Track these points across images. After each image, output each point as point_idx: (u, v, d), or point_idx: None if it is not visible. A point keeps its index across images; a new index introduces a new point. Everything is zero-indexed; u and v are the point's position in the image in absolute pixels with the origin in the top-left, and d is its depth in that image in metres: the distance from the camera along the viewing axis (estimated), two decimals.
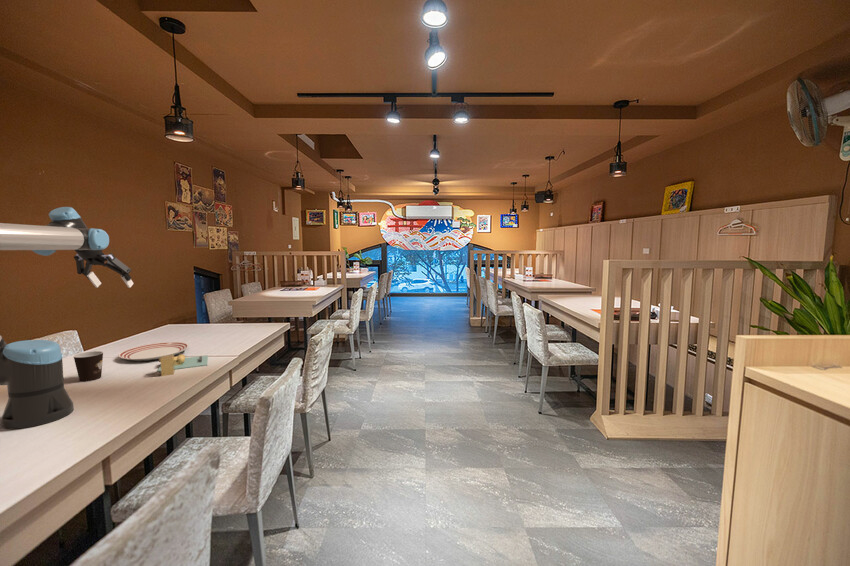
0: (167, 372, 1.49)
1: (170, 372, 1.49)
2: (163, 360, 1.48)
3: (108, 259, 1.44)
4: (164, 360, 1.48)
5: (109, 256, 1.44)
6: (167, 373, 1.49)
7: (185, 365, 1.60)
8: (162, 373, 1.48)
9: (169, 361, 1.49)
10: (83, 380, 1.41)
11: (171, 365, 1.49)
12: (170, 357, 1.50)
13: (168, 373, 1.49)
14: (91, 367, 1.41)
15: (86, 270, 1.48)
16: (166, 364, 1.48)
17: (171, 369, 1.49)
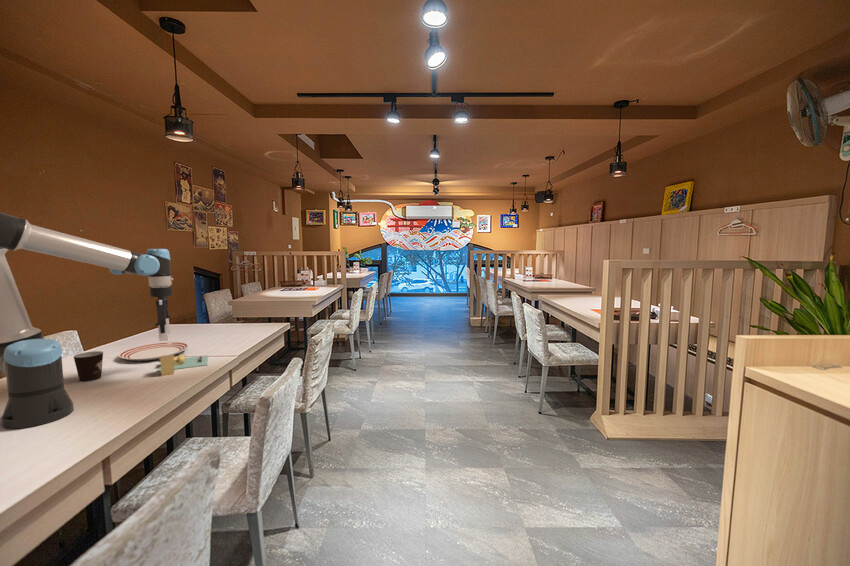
0: (167, 372, 1.49)
1: (170, 372, 1.49)
2: (163, 360, 1.48)
3: (157, 303, 1.43)
4: (164, 360, 1.48)
5: (159, 301, 1.43)
6: (167, 373, 1.49)
7: (185, 365, 1.60)
8: (162, 373, 1.48)
9: (169, 361, 1.49)
10: (83, 380, 1.41)
11: (171, 365, 1.49)
12: (170, 357, 1.50)
13: (168, 373, 1.49)
14: (91, 367, 1.41)
15: None
16: (166, 364, 1.48)
17: (171, 369, 1.49)
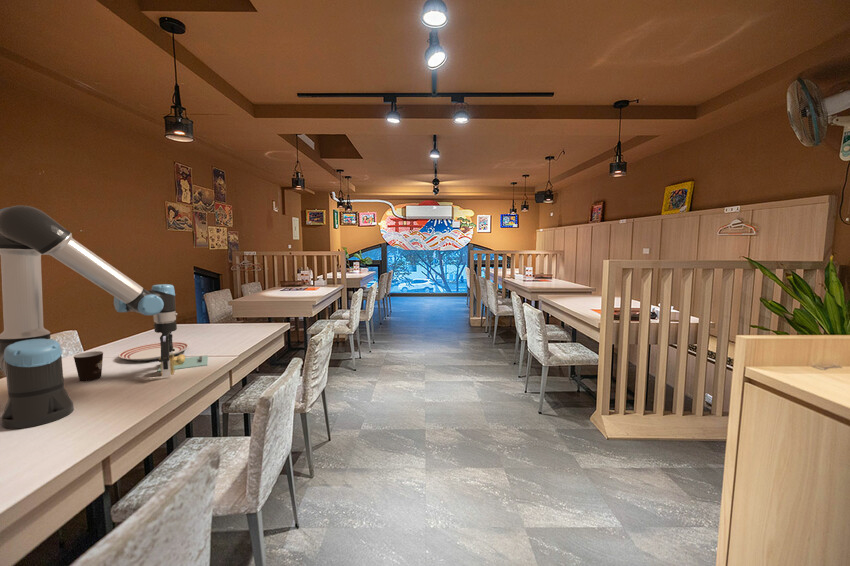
0: None
1: None
2: None
3: (160, 339, 1.44)
4: None
5: (162, 337, 1.44)
6: None
7: (185, 365, 1.60)
8: None
9: None
10: (83, 380, 1.41)
11: (171, 365, 1.49)
12: (170, 357, 1.50)
13: None
14: (91, 367, 1.41)
15: None
16: None
17: (171, 369, 1.49)
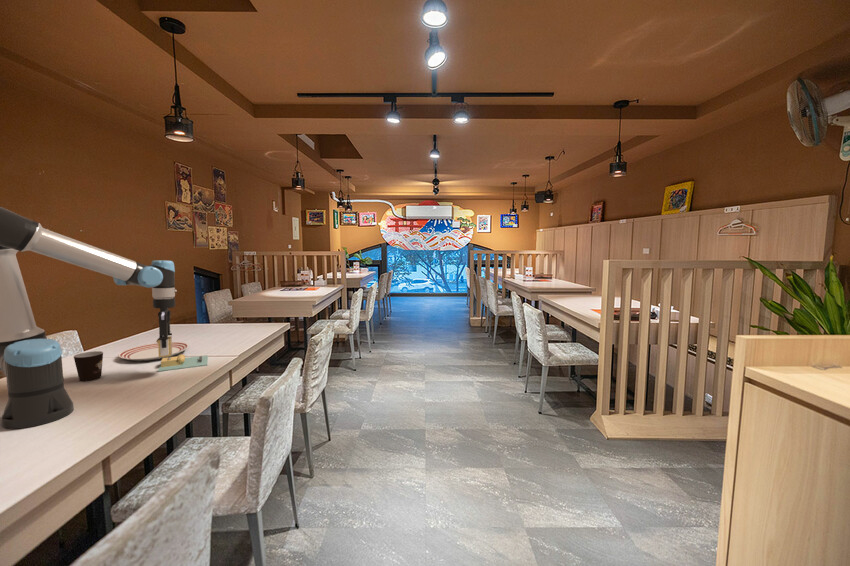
0: None
1: None
2: None
3: (159, 317, 1.43)
4: None
5: (161, 316, 1.43)
6: None
7: (185, 365, 1.60)
8: (159, 354, 1.47)
9: None
10: (83, 380, 1.41)
11: None
12: (168, 338, 1.49)
13: None
14: (91, 367, 1.41)
15: None
16: None
17: None
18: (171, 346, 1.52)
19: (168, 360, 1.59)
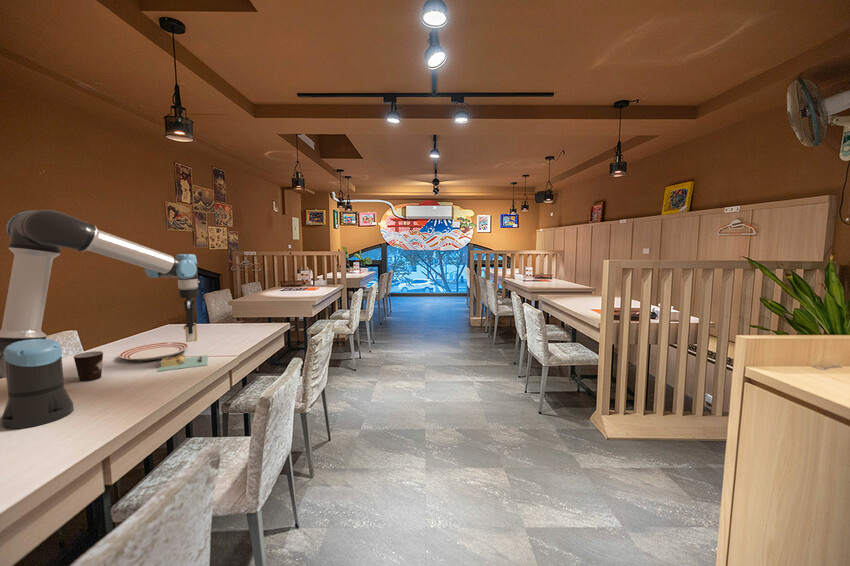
0: None
1: None
2: None
3: (185, 306, 1.58)
4: None
5: (187, 305, 1.57)
6: None
7: (185, 365, 1.60)
8: (186, 339, 1.61)
9: None
10: (83, 380, 1.41)
11: (194, 332, 1.63)
12: None
13: None
14: (91, 367, 1.41)
15: None
16: None
17: None
18: (196, 332, 1.67)
19: (168, 360, 1.59)
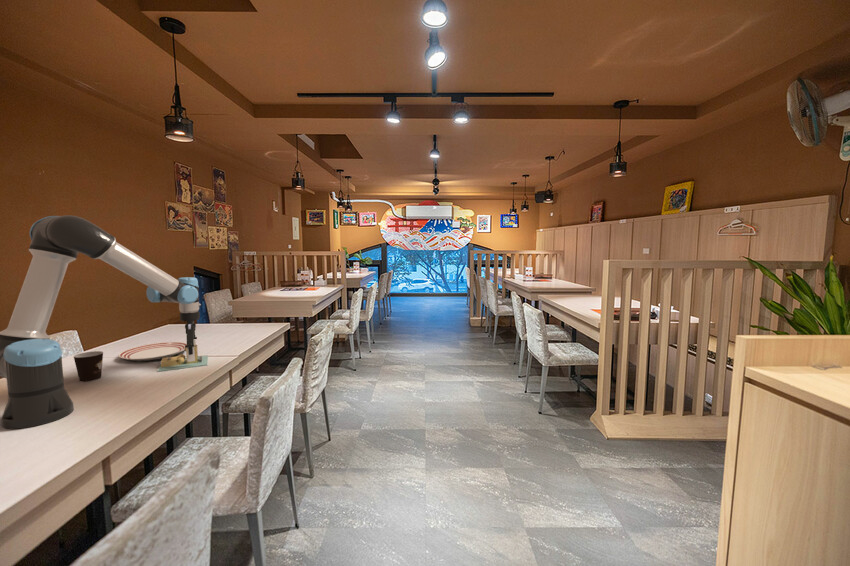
0: None
1: (195, 360, 1.64)
2: None
3: (186, 327, 1.58)
4: None
5: (188, 325, 1.58)
6: (192, 361, 1.63)
7: (185, 365, 1.60)
8: (187, 361, 1.62)
9: (194, 350, 1.63)
10: (83, 380, 1.41)
11: (195, 354, 1.64)
12: (194, 347, 1.64)
13: (193, 361, 1.63)
14: (91, 367, 1.41)
15: None
16: None
17: (195, 357, 1.64)
18: (197, 353, 1.67)
19: (168, 360, 1.59)
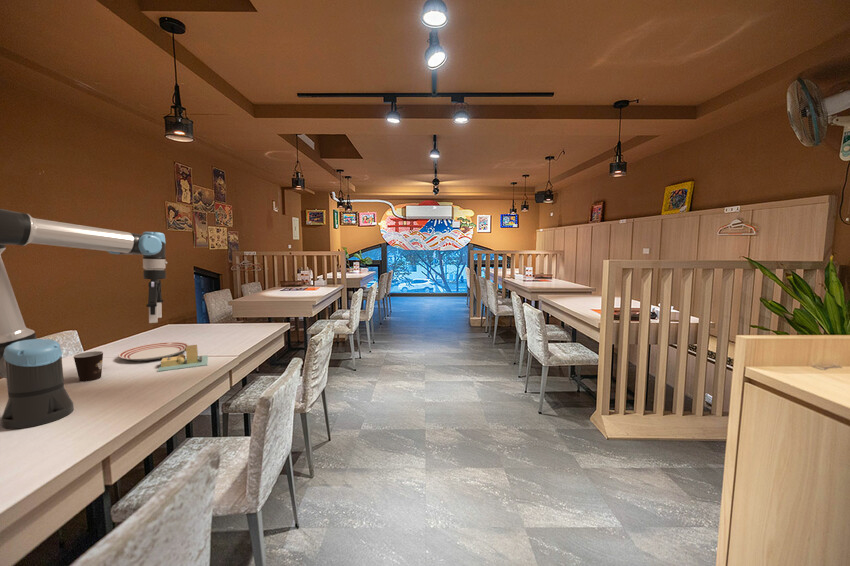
0: (191, 360, 1.63)
1: (195, 360, 1.64)
2: (188, 349, 1.62)
3: (149, 285, 1.45)
4: (189, 349, 1.62)
5: (151, 282, 1.45)
6: (192, 361, 1.63)
7: (185, 365, 1.60)
8: (187, 361, 1.62)
9: (194, 350, 1.63)
10: (83, 380, 1.41)
11: (195, 354, 1.64)
12: (194, 347, 1.64)
13: (193, 361, 1.63)
14: (91, 367, 1.41)
15: None
16: (191, 353, 1.63)
17: (195, 357, 1.64)
18: (197, 353, 1.67)
19: (168, 360, 1.59)
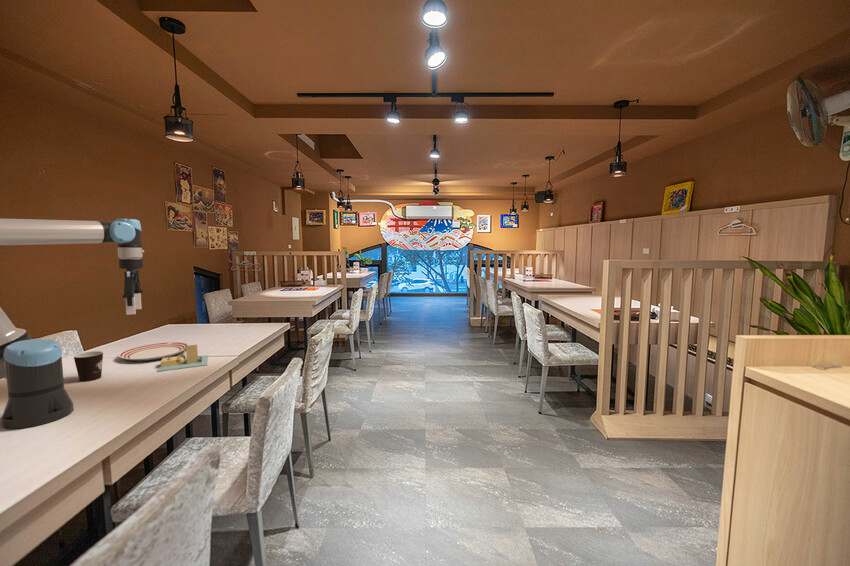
0: (191, 360, 1.63)
1: (195, 360, 1.64)
2: (188, 349, 1.62)
3: None
4: (189, 349, 1.62)
5: (126, 272, 1.37)
6: (192, 361, 1.63)
7: (185, 365, 1.60)
8: (187, 361, 1.62)
9: (194, 350, 1.63)
10: (83, 380, 1.41)
11: (195, 354, 1.64)
12: (194, 347, 1.64)
13: (193, 361, 1.63)
14: (91, 367, 1.41)
15: None
16: (191, 353, 1.63)
17: (195, 357, 1.64)
18: (197, 353, 1.67)
19: (168, 360, 1.59)
